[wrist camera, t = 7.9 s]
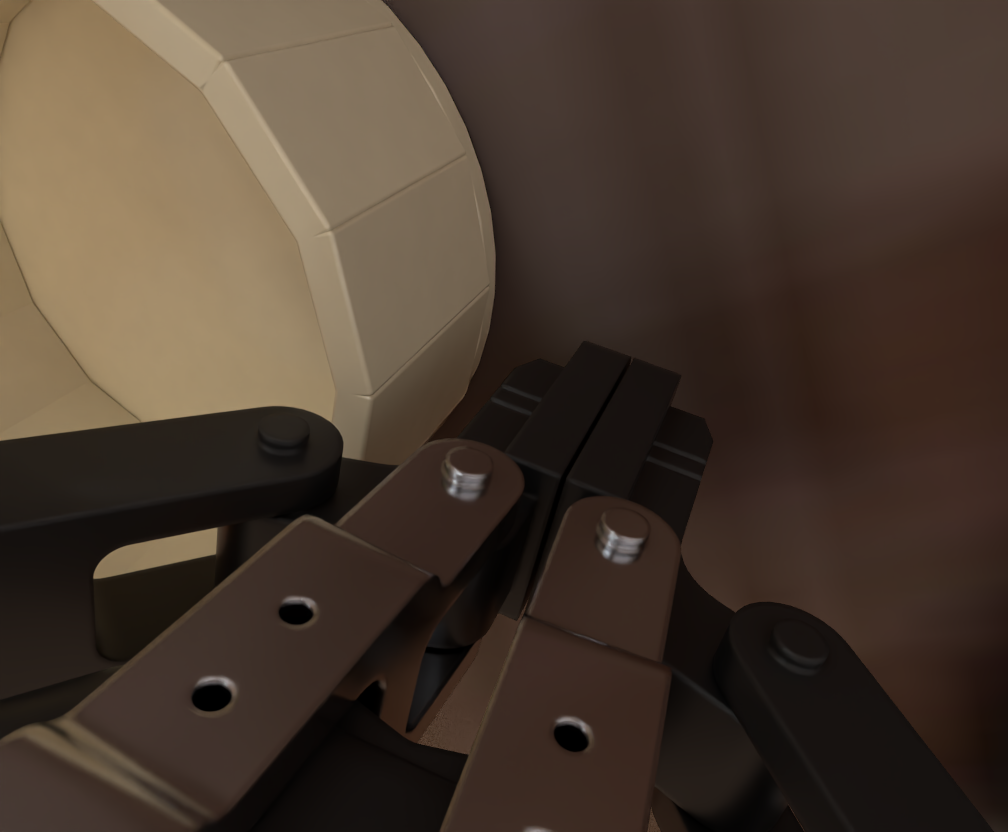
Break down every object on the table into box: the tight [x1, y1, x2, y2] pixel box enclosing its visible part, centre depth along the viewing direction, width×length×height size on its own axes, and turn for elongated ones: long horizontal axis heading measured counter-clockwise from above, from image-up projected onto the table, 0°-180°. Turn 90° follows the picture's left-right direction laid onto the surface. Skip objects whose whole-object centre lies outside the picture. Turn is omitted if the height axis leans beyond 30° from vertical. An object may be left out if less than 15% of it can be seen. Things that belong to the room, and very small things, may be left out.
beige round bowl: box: [0, 0, 496, 579], centre depth 14 cm, size 10×10×4 cm
